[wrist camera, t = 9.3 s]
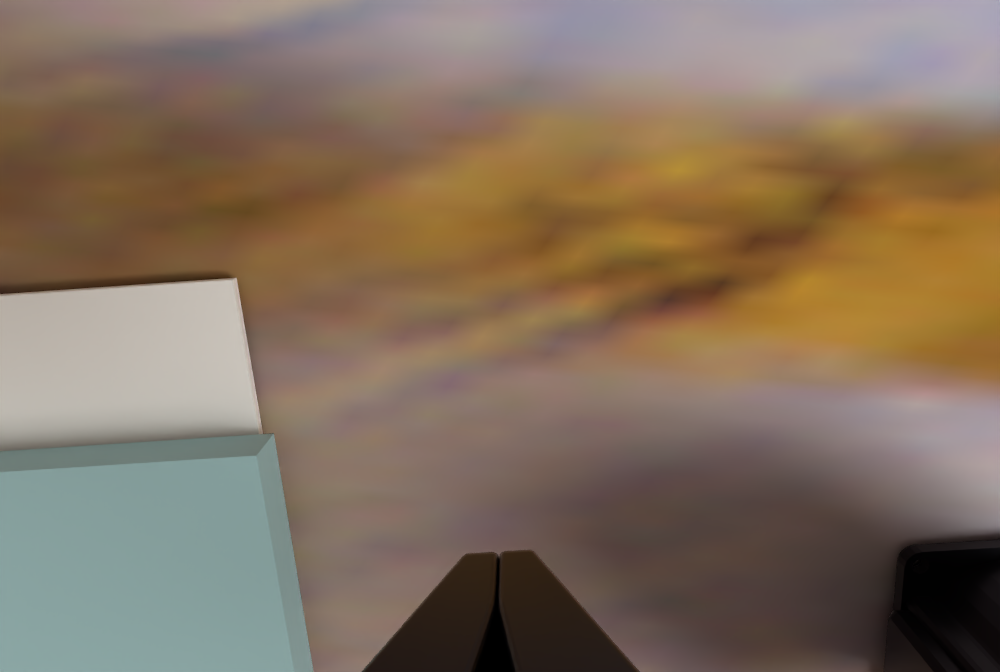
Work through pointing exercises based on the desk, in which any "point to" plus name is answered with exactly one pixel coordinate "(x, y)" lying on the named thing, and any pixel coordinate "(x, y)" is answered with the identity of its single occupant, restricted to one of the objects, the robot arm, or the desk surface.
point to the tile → (149, 559)
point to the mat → (125, 365)
